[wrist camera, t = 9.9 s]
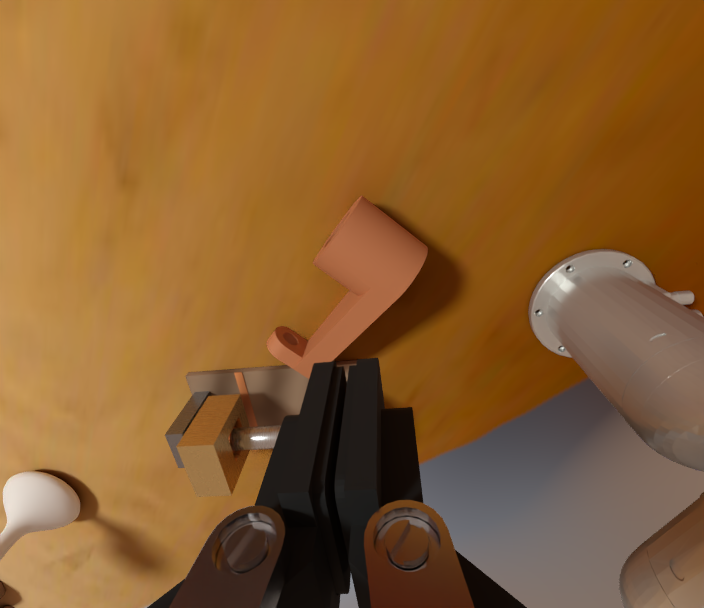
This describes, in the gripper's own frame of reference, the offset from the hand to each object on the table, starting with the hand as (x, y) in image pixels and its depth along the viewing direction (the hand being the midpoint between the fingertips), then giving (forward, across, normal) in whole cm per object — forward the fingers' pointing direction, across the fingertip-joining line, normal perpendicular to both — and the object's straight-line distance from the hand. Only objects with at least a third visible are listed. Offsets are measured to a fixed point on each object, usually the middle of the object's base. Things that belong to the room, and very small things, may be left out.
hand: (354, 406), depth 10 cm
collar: (+29, +20, +24) cm, 42 cm away
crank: (+33, +5, +9) cm, 34 cm away
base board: (+32, +15, +24) cm, 43 cm away
